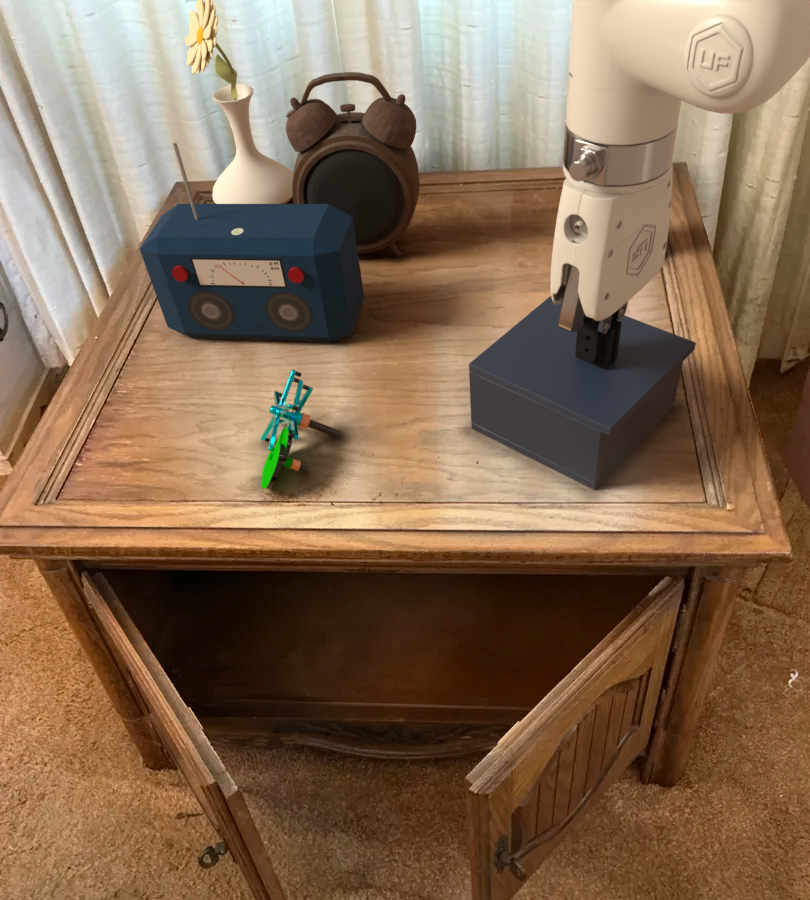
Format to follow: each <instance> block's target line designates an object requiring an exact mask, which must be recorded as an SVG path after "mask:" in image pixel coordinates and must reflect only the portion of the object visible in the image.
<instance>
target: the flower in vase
mask: <svg viewBox="0 0 810 900" xmlns="http://www.w3.org/2000/svg"><path fill="white" fill-rule="evenodd" d="M216 13H217V10H216V5H214V0H197V1H196V2H195V10H194V9H190V11H189V13H188V17H189V22H188V29H189V34H187V35H186V36H185V39H184V45H185V46H186V47H189V48H188V50H187V53H186V67H190V66H191V74H192V75H195V74H197V75H200V73H204V72H205V70H206V68H208V67H209V65H210V61H211V59H212V58H213V55H214V49H215V48H216V49H217V51H218V52H219V53H220V55H221V56H222V57H221V56H220V55H219V53H217V54H216V56H215V60H214V72H215V74H216V75H217V76H218V77H219V78H220V79H222V80H224V81H225V82H226V83H228V84H230V85H226V86H223V87H221V88H218V89H217V90H216V91H214V92H213V93H212V95H211V96H212V99H213V101H214V102H215V103H216V104H218V106H219V107H221V109H222V110H223V112H224V114H225V116H226V118H227V120H228V122H229V125H230V128H231V131H232V134H233V138H234V143H235V156H234V158H233V159H232V161H231V162H230V163H229V165H227V166H226V168H225V169H224V170H223V171H222V173H221V174H220V175H219V176H218V178H217V179H216V181H215V183H214V185H213V187H212V200H213V202H214V204H287V203H288V202H289V201H290V200H292V199H293V195H292V184H293V172H294V171H292V170H291V169H290V168H289V167H287V166H286V165H285V164H283V163H281V162H279V161H276V160H275V159H272V158H270V157H269V156H266V155H265V154H263V153H261V152H260V151H259V150H258V148H257V147H256V144H255V142H254V138H253V134H252V129H251V123H250V103H251V99H252V96H253V94H254V91H255V89H254V88H253V87H252V86H251V85H248V84H242V83H237V78H238V72H237V71H236V70H235V68H233V66H232V64H231V61H230V60H229V58H228V56H227V55H226V54H225V52H224V51H223V49H222V48H221V46H220V45H219V44H218V41H217V38H218V37H217V35H218V23H219V16H218V15H216Z"/></svg>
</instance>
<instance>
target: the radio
mask: <svg viewBox="0 0 810 900" xmlns="http://www.w3.org/2000/svg"><path fill="white" fill-rule="evenodd" d="M172 146H173V151H174V153H175V157H176V160H177V163H178V166H179V169H180V173H181V176H182V180H183V184H184V186H185V190H186V193H187V197H188V200H189V203H177V204H176V205H174V206H172V207H171V208H170V209H169V210H167V211H166V212H165V213H163V214H162V215H161V216H160V217H159V218H158V220H157V222H156V223H155V224H154V226H153V228H152V229H151V231H150V232H149V233H148V235H147V237H146V238H145V239H144V241H143V243H142V244H141V246H140V247H139V252H140V255H141V257H142V260H143V263H144V265H145V267H146V271H147V274H148V276H149V279H150V282H151V284H152V287H153V290H154V293H155V296H156V299H157V301H158V304H159V306H160V309H161V312H162V315H163V318H164V321H165V324H166V326H167V329H168V328H169V329H170V330H173V331H175V332H177V333H179V334H182V335H184V336H185V337H188V338H190V339H207V340H210V339H211V340H214V339H215V340H237V341H238V340H241V341H272V342H273V341H274V342H305V343H308V342H309V343H336V342H337V341H338V340H341V339H343V338H344V337H346V336H348V335H351V334H352V333H353V331H354V328H355V325H356V323H357V320H358V317H359V314H360V311H361V308H362V305H363V302H364V299H365V291H364V285H363V279H362V272H361V266H360V259H359V254H358V250H357V244H356V237H355V230H354V223H353V217H352V216H350V215H348V214H347V213H345V212H343V211H341V210H339V209H337V208H335V207H333V206H331V205H329V204H294V203H285V204H216V203H195V201H194V198H193V194H192V191H191V187H190V183H189V180H188V177H187V174H186V170H185V167H184V163H183V160H182V157H181V153H180V150H179V146H178V143H177V142H172Z"/></svg>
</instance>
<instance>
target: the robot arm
mask: <svg viewBox="0 0 810 900" xmlns="http://www.w3.org/2000/svg"><path fill="white" fill-rule="evenodd" d="M571 3H572V4H571V5H572V6H571V22H570V40H569V54H568V55H569V56H568V75H567V93H566V110H565V111H566V112H565V123H564V124H565V125H564V141H563V158H562V160H563V161H562V173H563V175H564V177H565V179H564V181H563V183H562V188H561V193H560V198H559V203H558V209H557V213H556V220H555V228H554V236H553V243H552V251H551V264H550V280H549V281H550V282H549V283H550V285H549V287H550V296H551V298H552V301H553V303H554V304H555V305H558V304H561V303H563V304H562V309H561V314H560V319H559V324H558V325H559V327H560V328H562V329H565V330H567V331H570V332H575V331H577V338H576V350H575V355H576V357H577V358H578V359H580V360H583V361H585V362H588V363H590V364H592V365H595V366H597V367H599V368H602V369H606V368H608V367H609V366H610V363H613V362H614V361H615V360H616V359H617V355H618V347H619V339H620V332H621V324H622V322H620V321H617V319H619V320H621V319H622V318H623V317H624V315H625V316H626V313H627V309H628V303H629V301H630V300H631V299H632V298H633V297H634V296H635V295H637V293H639V292H640V291H641V290H642V289H643V288H645V287H646V285H647V284H649V283H650V282H651V281H652V280H653V279H654V278H655V277H656V276H657V275H658V274H659V272H660V270H661V269H662V268H663V266H664V263H665V258H666V252H667V245H668V238H669V230H670V221H671V212H672V210H671V209H672V199H673V177H674V176H673V173H674V172H673V167H674V166H673V157H674V152H675V146H676V145H675V144H676V137H677V131H678V125H679V119H680V111H681V105H682V102H684V103H686V104H689V105H691V106H694V107H696V108H698V109H700V110H704V111H707V112H711V113H716V114H727V115H728V114H729V115H732V114H733V115H734V114H740V113H744V112H748V111H751V110H753V109H756V108H757V107H760V106H761V105H764V104H765V103H767V102H768V101H769V100H770V99H772V98H773V97H774V96H776V95H777V94H778V93H779V92H780V91H781V90H782V89H783V88H784V87H785V86H786V84H788V83H789V81H790V80H792V78H793V77H794V76H795V75H796V74H797V73H798V72H799V71H800V69H801V68H802V67H803V66H804V65H805V64H806V63H807V62H808V60H809V59H810V0H572V2H571Z"/></svg>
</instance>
